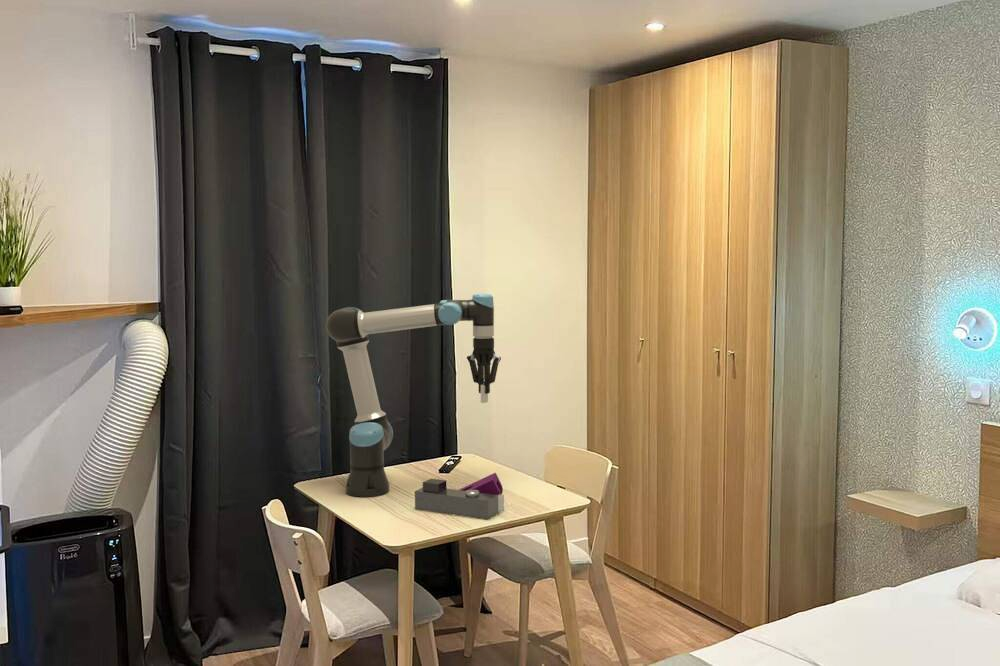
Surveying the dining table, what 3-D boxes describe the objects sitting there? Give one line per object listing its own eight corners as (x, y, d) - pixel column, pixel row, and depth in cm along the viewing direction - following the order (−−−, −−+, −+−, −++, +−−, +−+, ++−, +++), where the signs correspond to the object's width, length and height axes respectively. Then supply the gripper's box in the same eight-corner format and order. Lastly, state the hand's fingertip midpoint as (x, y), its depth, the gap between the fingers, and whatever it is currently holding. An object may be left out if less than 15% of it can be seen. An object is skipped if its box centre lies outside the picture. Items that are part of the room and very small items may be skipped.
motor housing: (415, 509, 287) (414, 482, 286) (432, 500, 296) (432, 474, 295) (488, 519, 274) (488, 491, 274) (504, 510, 284) (503, 482, 283)
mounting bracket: (455, 525, 288) (504, 502, 286) (444, 502, 288) (492, 479, 286) (459, 516, 298) (506, 494, 296) (448, 494, 297) (495, 472, 295)
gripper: (504, 336, 314) (505, 401, 316) (472, 335, 320) (473, 399, 322) (495, 338, 308) (495, 405, 310) (462, 337, 313) (463, 402, 316)
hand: (484, 402), depth 316 cm, fingers closed
